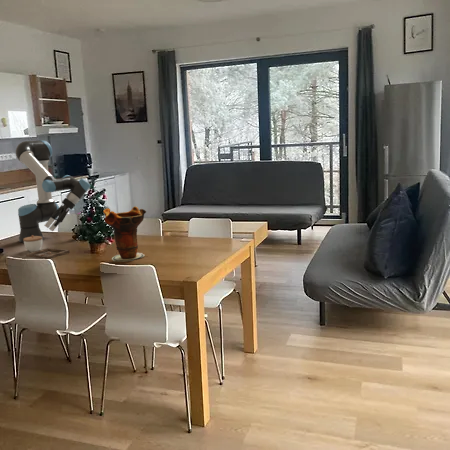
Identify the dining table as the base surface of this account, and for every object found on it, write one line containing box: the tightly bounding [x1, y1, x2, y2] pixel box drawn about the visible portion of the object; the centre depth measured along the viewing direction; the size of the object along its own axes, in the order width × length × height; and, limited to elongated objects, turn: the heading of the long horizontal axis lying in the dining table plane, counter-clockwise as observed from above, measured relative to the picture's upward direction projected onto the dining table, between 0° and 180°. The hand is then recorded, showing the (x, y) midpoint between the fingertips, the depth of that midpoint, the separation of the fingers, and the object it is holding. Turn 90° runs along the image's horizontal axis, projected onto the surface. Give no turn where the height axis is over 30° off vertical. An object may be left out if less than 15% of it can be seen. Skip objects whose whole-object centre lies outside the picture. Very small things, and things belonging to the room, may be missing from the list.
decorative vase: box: [103, 206, 147, 262], centre depth 266 cm, size 21×23×28 cm
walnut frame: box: [25, 247, 70, 260], centre depth 285 cm, size 16×18×1 cm
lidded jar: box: [23, 235, 44, 253], centre depth 296 cm, size 11×11×9 cm
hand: (48, 228), depth 300 cm, fingers open, 13 cm apart
